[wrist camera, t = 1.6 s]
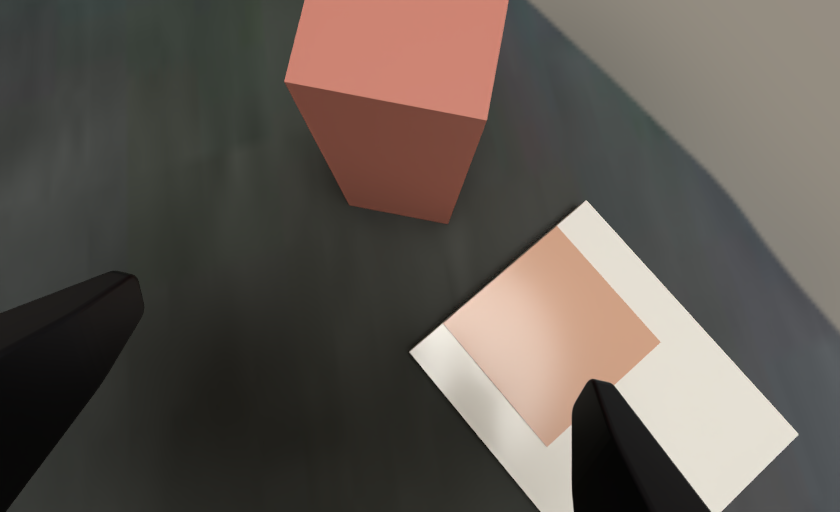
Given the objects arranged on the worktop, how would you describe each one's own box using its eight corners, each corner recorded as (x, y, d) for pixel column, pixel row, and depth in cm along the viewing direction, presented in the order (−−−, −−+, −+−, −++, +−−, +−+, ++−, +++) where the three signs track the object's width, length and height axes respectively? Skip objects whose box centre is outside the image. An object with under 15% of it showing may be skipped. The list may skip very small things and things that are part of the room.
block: (447, 224, 23) (486, 120, 11) (349, 205, 23) (284, 81, 11) (465, 130, 24) (519, -61, 12) (369, 112, 24) (328, -97, 12)
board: (777, 428, 22) (802, 435, 21) (609, 594, 21) (624, 613, 19) (577, 206, 23) (587, 199, 22) (409, 350, 22) (409, 352, 21)
